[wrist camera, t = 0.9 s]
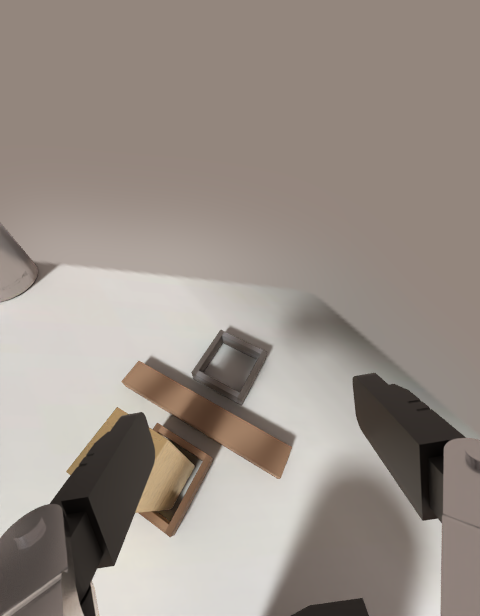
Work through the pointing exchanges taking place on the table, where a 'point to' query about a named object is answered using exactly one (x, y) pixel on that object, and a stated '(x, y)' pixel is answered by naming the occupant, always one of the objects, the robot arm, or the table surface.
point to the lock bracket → (208, 420)
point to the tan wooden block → (165, 473)
